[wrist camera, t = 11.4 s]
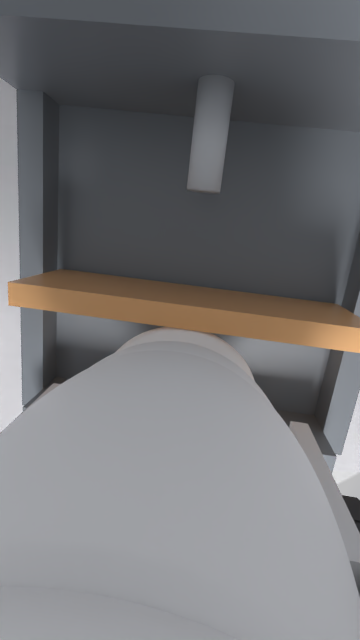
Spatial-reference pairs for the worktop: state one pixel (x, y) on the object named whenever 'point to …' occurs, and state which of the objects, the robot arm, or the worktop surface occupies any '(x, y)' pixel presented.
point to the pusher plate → (190, 308)
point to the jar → (166, 507)
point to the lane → (143, 172)
